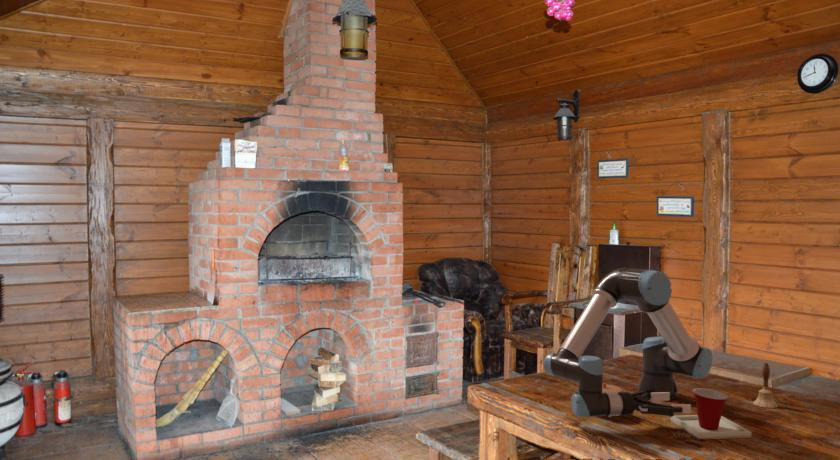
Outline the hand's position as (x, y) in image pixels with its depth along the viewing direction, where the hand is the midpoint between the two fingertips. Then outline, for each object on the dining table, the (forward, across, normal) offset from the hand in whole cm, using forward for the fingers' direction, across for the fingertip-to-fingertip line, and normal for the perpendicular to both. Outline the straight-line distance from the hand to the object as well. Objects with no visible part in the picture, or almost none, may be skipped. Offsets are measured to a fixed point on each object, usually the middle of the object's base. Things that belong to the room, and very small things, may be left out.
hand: (679, 402), depth 212 cm
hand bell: (+48, -24, -10) cm, 54 cm away
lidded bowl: (-18, -19, -10) cm, 28 cm away
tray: (+11, 0, -9) cm, 14 cm away
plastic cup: (+11, 0, -9) cm, 14 cm away
